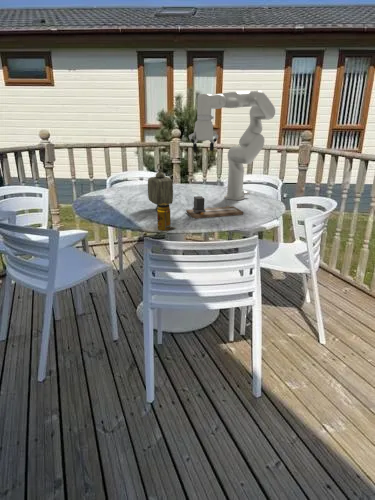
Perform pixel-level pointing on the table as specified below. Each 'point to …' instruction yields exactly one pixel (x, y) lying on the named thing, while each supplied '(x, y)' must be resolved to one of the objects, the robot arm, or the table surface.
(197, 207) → the fader slider
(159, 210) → the condiment
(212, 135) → the robot arm
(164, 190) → the tabletop clock
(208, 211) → the fader board
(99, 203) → the table surface
